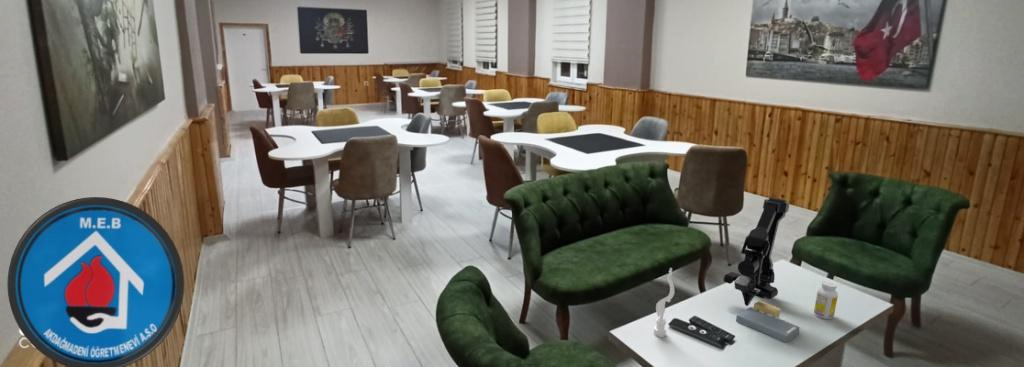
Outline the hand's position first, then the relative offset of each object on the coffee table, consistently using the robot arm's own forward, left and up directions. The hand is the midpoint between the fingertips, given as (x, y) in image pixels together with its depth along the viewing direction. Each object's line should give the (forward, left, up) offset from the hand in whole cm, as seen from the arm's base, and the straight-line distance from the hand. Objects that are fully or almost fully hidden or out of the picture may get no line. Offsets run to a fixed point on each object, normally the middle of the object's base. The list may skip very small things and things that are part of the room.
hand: (746, 305), depth 211 cm
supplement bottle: (+20, +18, -1) cm, 28 cm away
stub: (+7, 0, -1) cm, 8 cm away
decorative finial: (-9, -43, -1) cm, 43 cm away
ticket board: (+11, -8, -1) cm, 14 cm away
